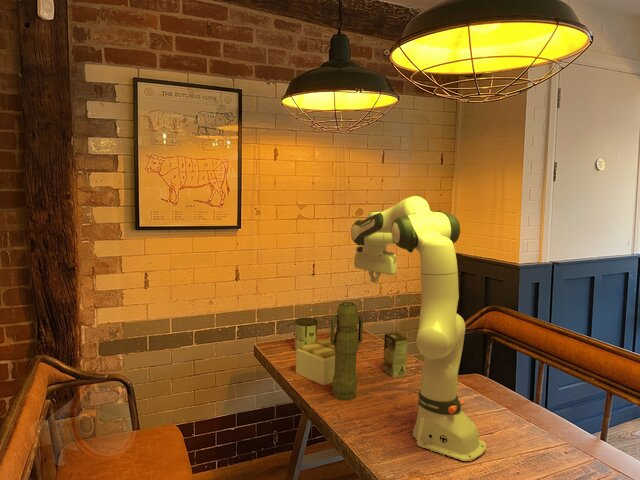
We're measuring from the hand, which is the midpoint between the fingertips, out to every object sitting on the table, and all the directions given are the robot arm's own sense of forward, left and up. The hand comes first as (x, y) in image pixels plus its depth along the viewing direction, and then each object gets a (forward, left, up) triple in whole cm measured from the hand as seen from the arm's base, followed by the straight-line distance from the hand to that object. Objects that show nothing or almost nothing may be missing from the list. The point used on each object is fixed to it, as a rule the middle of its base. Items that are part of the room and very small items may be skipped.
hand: (374, 282), depth 206 cm
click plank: (+8, +15, -27) cm, 32 cm away
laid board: (+8, +24, -27) cm, 37 cm away
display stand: (+8, +20, -37) cm, 43 cm away
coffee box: (-11, -2, -37) cm, 39 cm away
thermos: (-11, +29, -37) cm, 49 cm away
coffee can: (+33, +7, -37) cm, 50 cm away
